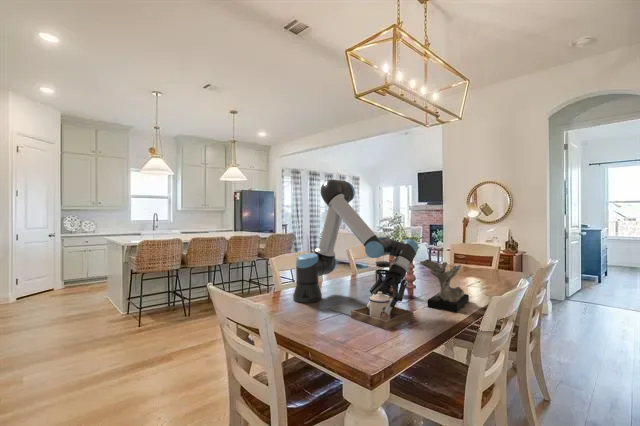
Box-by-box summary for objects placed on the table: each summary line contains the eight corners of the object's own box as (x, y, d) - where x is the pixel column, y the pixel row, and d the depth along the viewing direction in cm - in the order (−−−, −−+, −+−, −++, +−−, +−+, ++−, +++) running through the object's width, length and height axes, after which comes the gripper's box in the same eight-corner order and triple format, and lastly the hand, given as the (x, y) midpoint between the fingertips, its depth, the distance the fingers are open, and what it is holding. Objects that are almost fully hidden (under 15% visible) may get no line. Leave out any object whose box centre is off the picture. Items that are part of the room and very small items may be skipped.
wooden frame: (350, 317, 141) (350, 310, 141) (378, 308, 154) (378, 302, 154) (386, 329, 127) (386, 321, 127) (413, 318, 140) (413, 311, 140)
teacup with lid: (382, 324, 133) (382, 295, 133) (365, 318, 140) (364, 292, 139) (398, 317, 142) (398, 290, 142) (380, 312, 148) (380, 287, 148)
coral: (454, 314, 145) (454, 266, 145) (411, 306, 158) (411, 262, 158) (470, 302, 164) (470, 260, 164) (430, 295, 177) (430, 256, 177)
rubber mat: (327, 308, 154) (327, 307, 154) (349, 302, 164) (349, 301, 164) (350, 316, 143) (350, 315, 143) (372, 309, 153) (372, 308, 153)
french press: (371, 291, 185) (370, 251, 185) (378, 288, 193) (378, 250, 192) (389, 295, 178) (389, 253, 178) (397, 291, 185) (397, 251, 185)
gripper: (423, 277, 142) (402, 321, 132) (383, 270, 159) (362, 309, 148) (416, 266, 139) (394, 311, 128) (376, 260, 155) (354, 300, 145)
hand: (377, 310), depth 138 cm, fingers closed on teacup with lid, 9 cm apart
